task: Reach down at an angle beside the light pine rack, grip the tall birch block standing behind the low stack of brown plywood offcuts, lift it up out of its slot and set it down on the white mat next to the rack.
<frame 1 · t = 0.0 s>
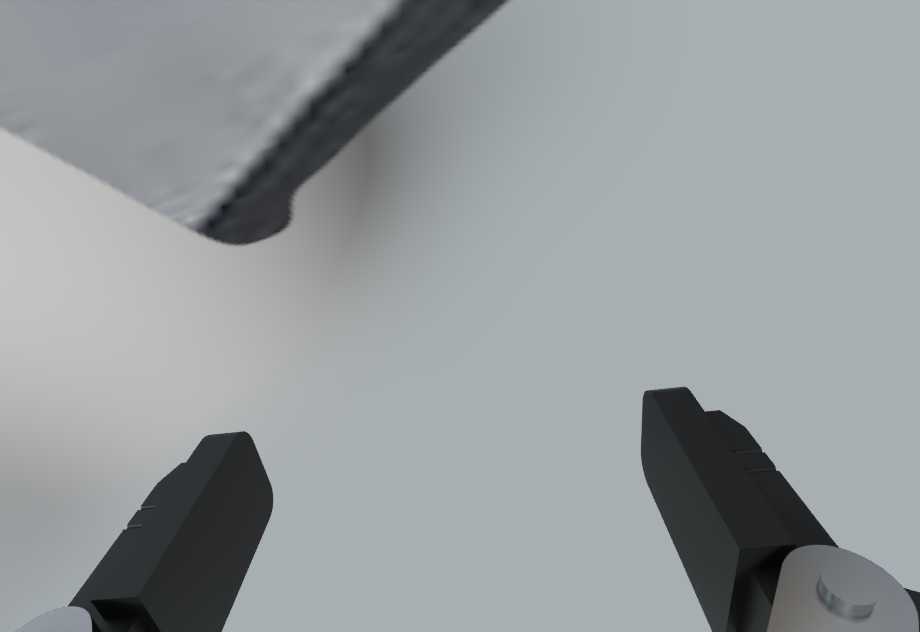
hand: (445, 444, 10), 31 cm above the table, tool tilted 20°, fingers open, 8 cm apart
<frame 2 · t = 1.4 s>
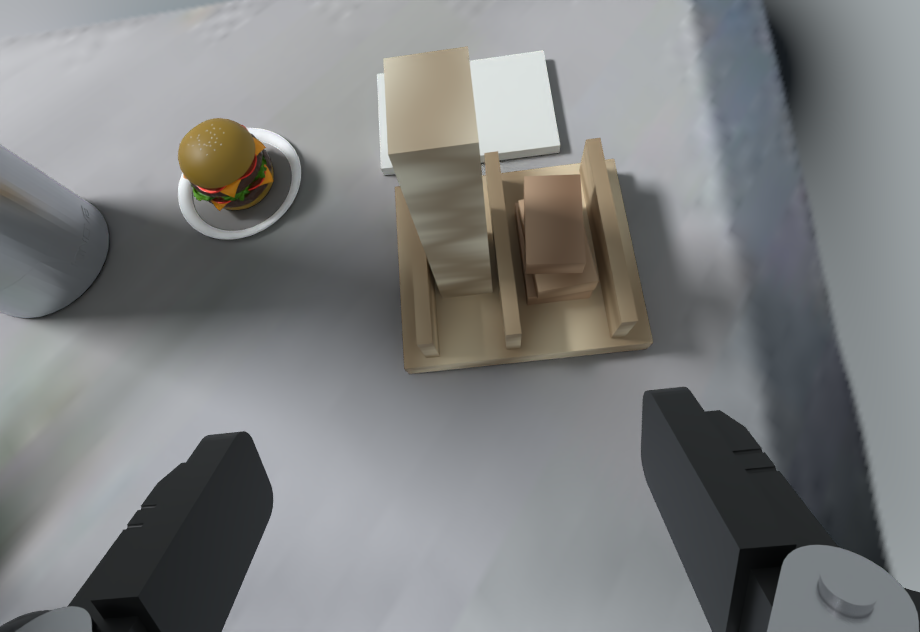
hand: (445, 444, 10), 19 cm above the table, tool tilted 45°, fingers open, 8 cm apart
white mat: (465, 115, 35), on the table
pine rack: (513, 268, 31), on the table
tall birch block: (464, 264, 30), point 1 cm above the table, touching pine rack
hamburger: (247, 191, 36), on the table
offcut stack: (550, 254, 30), point 1 cm above the table, touching pine rack
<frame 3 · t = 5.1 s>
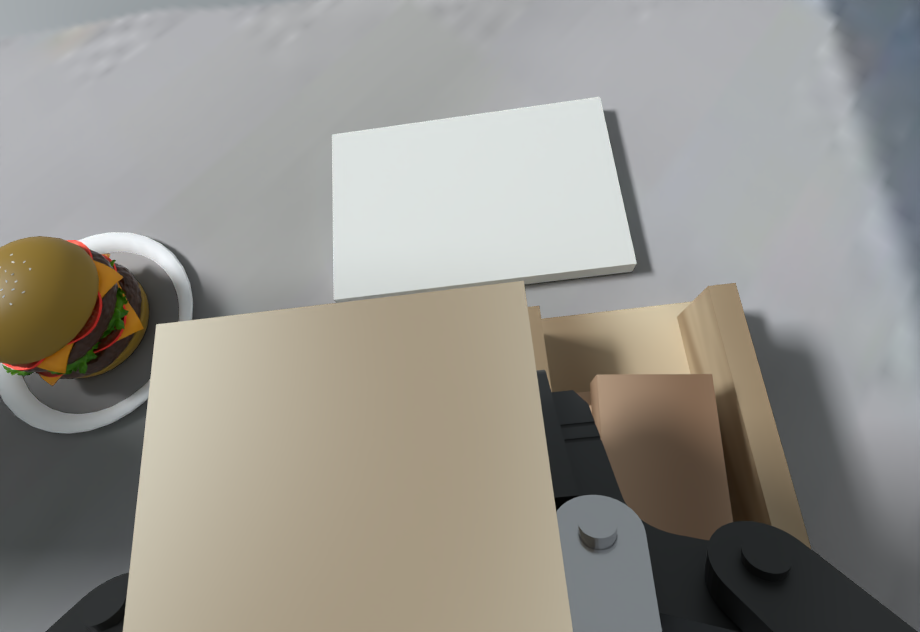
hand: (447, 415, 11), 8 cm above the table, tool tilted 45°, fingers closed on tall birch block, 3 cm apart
white mat: (473, 203, 22), on the table
pine rack: (562, 491, 18), on the table
tall birch block: (475, 500, 17), point 2 cm above the table, touching gripper, pine rack
hamburger: (114, 334, 23), on the table
offcut stack: (635, 485, 16), point 1 cm above the table, touching pine rack
when the fingers open (10 cm above the table, at t = 13.6 s): tall birch block drops 3 cm, resting on white mat.
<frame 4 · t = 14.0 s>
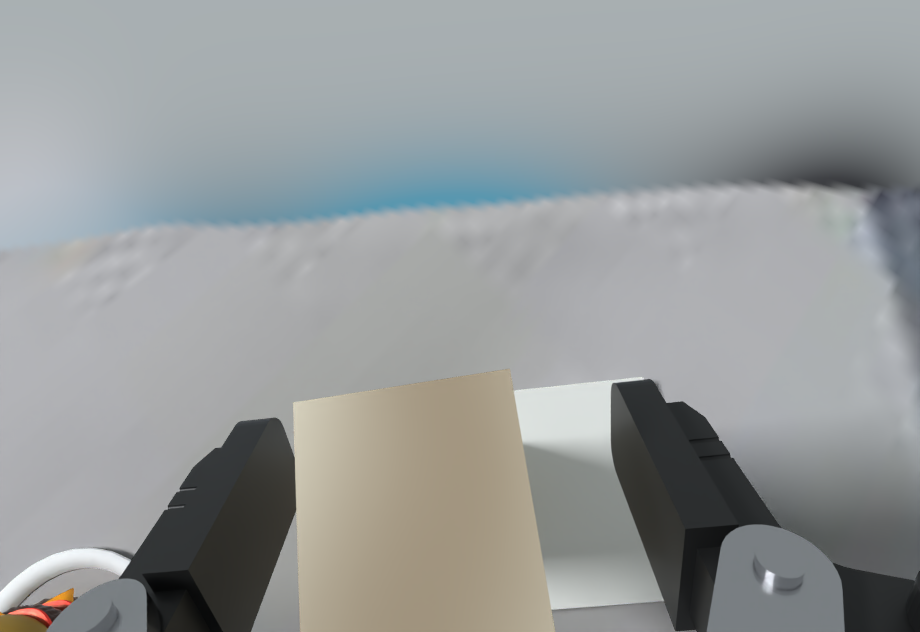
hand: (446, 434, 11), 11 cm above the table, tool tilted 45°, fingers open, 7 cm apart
white mat: (506, 494, 20), on the table
tall birch block: (481, 499, 19), point 1 cm above the table, touching white mat
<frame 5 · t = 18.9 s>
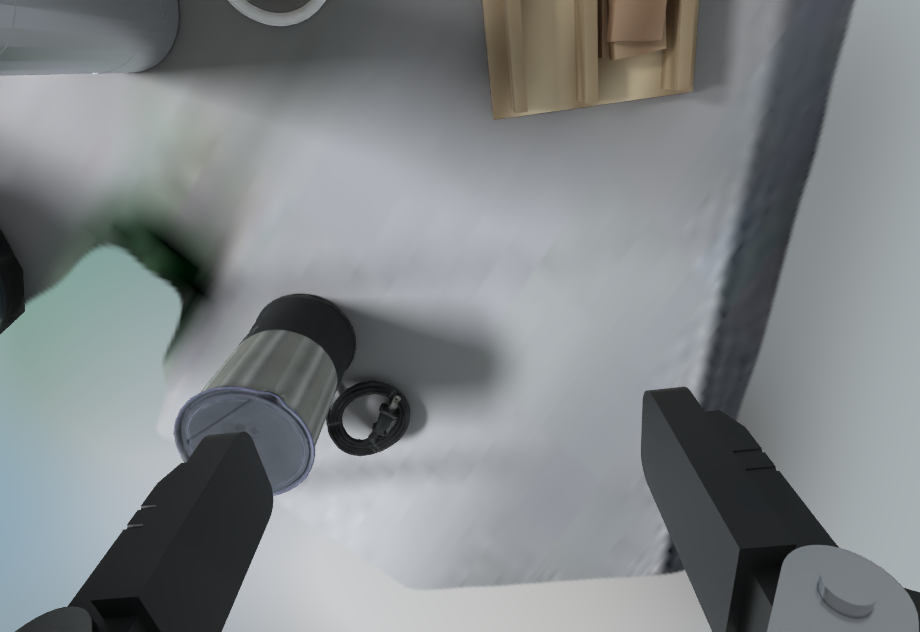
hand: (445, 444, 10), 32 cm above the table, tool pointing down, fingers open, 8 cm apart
pine rack: (586, 10, 34), on the table
milk frother: (338, 366, 48), on the table
offcut stack: (624, 2, 33), point 1 cm above the table, touching pine rack
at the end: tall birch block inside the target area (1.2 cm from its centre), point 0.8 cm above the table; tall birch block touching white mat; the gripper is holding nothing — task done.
